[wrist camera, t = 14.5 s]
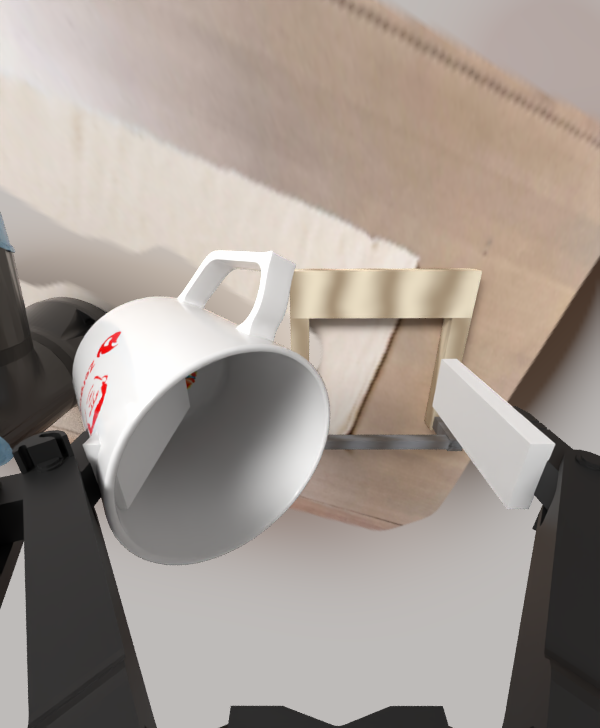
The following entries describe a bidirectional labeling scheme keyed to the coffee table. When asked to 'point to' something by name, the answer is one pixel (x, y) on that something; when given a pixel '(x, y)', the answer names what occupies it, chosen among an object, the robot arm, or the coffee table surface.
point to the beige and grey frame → (389, 300)
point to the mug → (204, 413)
